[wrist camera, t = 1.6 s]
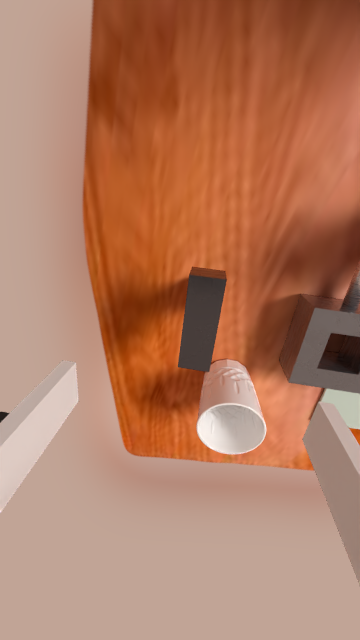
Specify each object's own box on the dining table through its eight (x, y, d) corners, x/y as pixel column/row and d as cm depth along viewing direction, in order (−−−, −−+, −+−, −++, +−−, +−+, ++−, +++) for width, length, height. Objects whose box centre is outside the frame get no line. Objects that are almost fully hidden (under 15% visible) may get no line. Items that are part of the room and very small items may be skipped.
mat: (332, 371, 36) (333, 373, 35) (398, 382, 35) (400, 383, 35) (311, 419, 39) (312, 421, 39) (371, 429, 39) (373, 431, 38)
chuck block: (321, 226, 29) (342, 229, 24) (414, 237, 28) (453, 243, 23) (279, 360, 36) (288, 382, 31) (351, 371, 35) (372, 395, 31)
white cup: (231, 345, 36) (237, 391, 27) (264, 381, 38) (280, 436, 29) (189, 373, 39) (182, 424, 30) (222, 406, 41) (225, 463, 31)
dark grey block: (197, 251, 31) (189, 274, 20) (221, 254, 31) (226, 279, 20) (188, 317, 35) (177, 367, 24) (210, 320, 35) (209, 372, 24)
